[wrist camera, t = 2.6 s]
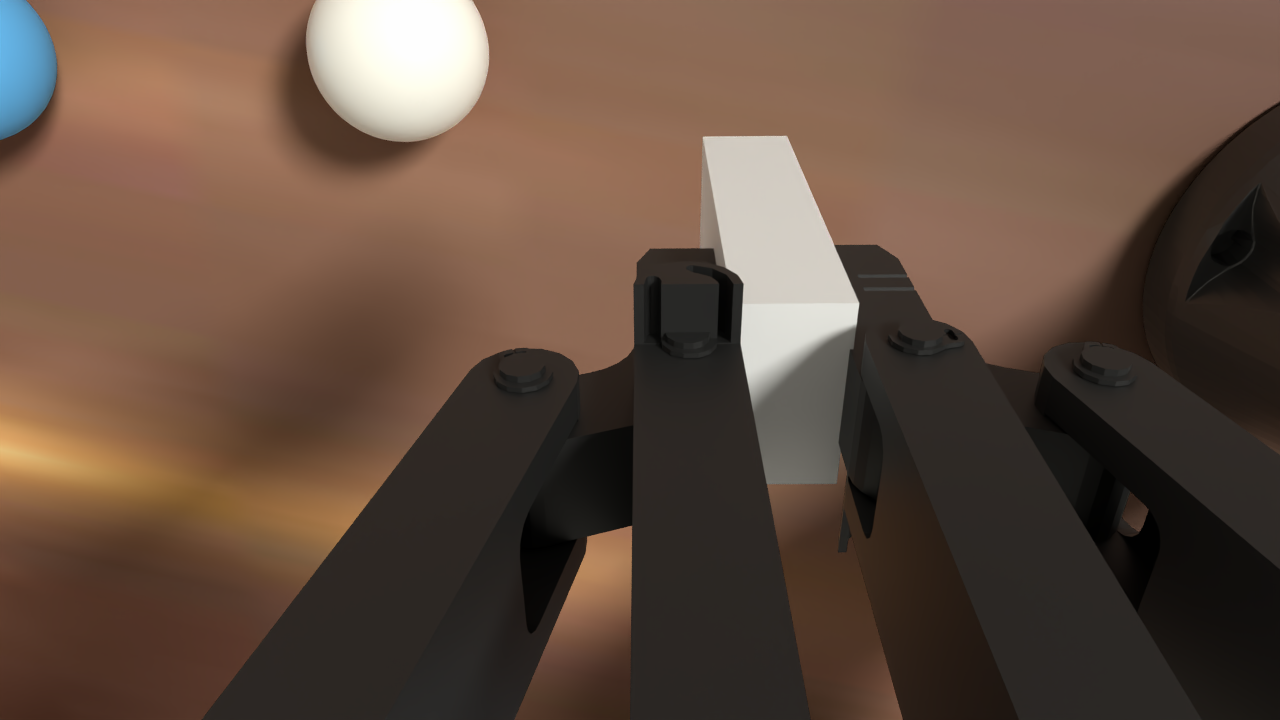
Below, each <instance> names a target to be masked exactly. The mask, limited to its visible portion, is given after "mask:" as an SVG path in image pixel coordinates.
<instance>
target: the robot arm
mask: <svg viewBox="0 0 1280 720" xmlns="http://www.w3.org/2000/svg"><path fill="white" fill-rule="evenodd" d="M1143 321H1144V329H1145V334H1146V339H1147V342H1148V345H1149V349H1150V351H1151V353H1152V356H1153V358H1154V360H1155V362H1156V364H1157V366H1158V367H1157V366H1156V365H1154V364H1153V363H1152V362H1150V361H1148V360H1146V359H1144V358H1142V357H1141V356H1139V355H1137V354H1135V353H1133V352H1130V351H1127V350H1124V349H1120V348H1118V347H1117V346H1115V345H1112V344H1107V343H1102V344H1100V342H1090V341H1089V342H1081V343H1066V344H1063V345H1059V346H1056V347H1053V348H1051V349H1050V350H1049V351H1048V352H1047V353H1046V354H1045V355H1044V358H1043V362H1042V366H1041V370H1040V373H1035V372H1029V371H1023V370H1016V369H1010V368H1004V367H1000V366H995V365H991V364H986V363H985V361H984V360H983V358H982V356H981V355H980V353H979V351H978V350H977V348H976V347H975V345H974V343H973V342H972V341H971V340H970V339H969V338H968V337H967V336H966V335H965V334H964V333H963V332H962V331H960V330H958V329H956V328H954V327H952V326H950V325H948V324H946V323H942V322H938V321H934V320H932V318H931V316H930V315H929V313H928V311H927V309H926V307H925V306H924V304H923V302H922V300H921V299H920V297H919V295H918V293H917V291H916V290H914V286H913V284H912V283H911V281H910V279H909V277H907V274H906V272H905V270H904V268H903V266H902V265H901V263H900V261H899V259H898V258H896V257H895V256H893V255H892V254H890V253H889V252H887V251H886V250H884V249H883V248H881V247H880V246H878V245H834V244H833V241H832V239H831V237H830V235H829V232H828V230H827V228H826V225H825V223H824V221H823V218H822V216H821V214H820V211H819V209H818V207H817V205H816V202H815V200H814V198H813V195H812V193H811V191H810V188H809V186H808V184H807V181H806V179H805V177H804V174H803V172H802V170H801V168H800V165H799V163H798V161H797V158H796V156H795V154H794V151H793V149H792V147H791V144H790V142H789V140H788V138H787V136H722V137H703V148H702V186H701V224H700V248H691V249H650V250H649V251H648V252H647V253H646V254H645V255H644V256H643V257H642V258H641V259H640V260H639V261H638V262H637V278H636V280H635V283H634V349H633V350H632V351H631V353H630V354H629V355H628V356H627V357H626V358H625V359H623V360H622V361H620V362H619V363H617V364H615V365H613V366H610V367H608V368H606V369H603V370H599V371H595V372H591V373H586V374H581V375H579V371H578V369H577V368H576V366H575V364H574V363H573V361H572V360H570V359H568V358H567V357H565V356H563V355H562V354H560V353H556V352H552V351H548V350H544V349H529V348H517V349H515V350H512V349H511V350H506V351H503V352H500V353H497V354H495V355H493V356H490V357H488V358H485V359H483V360H482V361H481V362H479V363H478V364H477V365H476V366H475V367H473V368H472V369H471V370H470V371H469V373H468V374H467V375H466V377H465V378H464V379H463V380H462V382H461V383H460V384H459V386H458V387H457V388H456V390H455V391H454V392H453V393H452V395H451V396H450V397H449V399H448V400H447V401H446V403H445V404H444V405H443V406H442V408H441V409H440V410H439V412H438V413H437V414H436V416H435V417H434V418H433V419H432V421H431V422H430V423H429V425H428V426H427V427H426V429H425V430H424V431H423V433H422V434H421V435H420V436H419V438H418V439H417V440H416V442H415V443H414V444H413V446H412V447H411V448H410V449H409V451H408V452H407V453H406V455H405V456H404V457H403V459H402V460H401V461H400V462H399V464H398V465H397V466H396V468H395V469H394V470H393V472H392V473H391V474H390V475H389V477H388V478H387V479H386V481H385V482H384V483H383V485H382V486H381V487H380V488H379V490H378V491H377V492H376V494H375V495H374V496H373V498H372V499H371V500H370V501H369V503H368V504H367V505H366V507H365V508H364V509H363V511H362V512H361V513H360V514H359V516H358V517H357V518H356V520H355V521H354V522H353V524H352V525H351V526H350V528H349V529H348V530H347V531H346V533H345V534H344V535H343V537H342V538H341V539H340V541H339V542H338V543H337V544H336V546H335V547H334V548H333V550H332V551H331V552H330V554H329V555H328V556H327V557H326V559H325V560H324V561H323V563H322V564H321V565H320V567H319V568H318V569H317V570H316V572H315V573H314V574H313V576H312V577H311V578H310V580H309V581H308V582H307V583H306V585H305V586H304V587H303V589H302V590H301V591H300V593H299V594H298V595H297V596H296V598H295V599H294V600H293V602H292V603H291V604H290V606H289V607H288V608H287V609H286V611H285V612H284V613H283V615H282V616H281V617H280V619H279V620H278V621H277V622H276V624H275V625H274V626H273V628H272V629H271V630H270V632H269V633H268V634H267V636H266V637H265V638H264V639H263V641H262V642H261V643H260V645H259V646H258V647H257V649H256V650H255V651H254V652H253V654H252V655H251V656H250V658H249V659H248V660H247V662H246V663H245V664H244V665H243V667H242V668H241V669H240V671H239V672H238V673H237V675H236V676H235V677H234V678H233V680H232V681H231V682H230V684H229V685H228V686H227V688H226V689H225V690H224V691H223V693H222V694H221V695H220V697H219V698H218V699H217V701H216V702H215V703H214V704H213V706H212V707H211V708H210V710H209V711H208V712H207V714H206V715H205V716H204V717H203V719H202V720H514V719H515V717H516V714H517V712H518V710H519V707H520V705H521V703H522V700H523V698H524V696H525V693H526V691H527V689H528V686H529V684H530V682H531V679H532V677H533V675H534V672H535V670H536V668H537V665H538V663H539V661H540V658H541V656H542V654H543V651H544V649H545V647H546V644H547V642H548V640H549V637H550V635H551V632H552V630H553V628H554V625H555V623H556V621H557V618H558V616H559V614H560V611H561V609H562V607H563V604H564V602H565V600H566V597H567V595H568V593H569V590H570V588H571V586H572V583H573V581H574V579H575V576H576V574H577V572H578V569H579V567H580V565H581V562H582V560H583V558H584V555H585V552H586V545H587V536H591V535H595V534H599V533H603V532H607V531H611V530H616V529H620V528H624V527H628V526H632V602H631V692H630V720H811V719H810V713H809V708H808V703H807V697H806V692H805V687H804V681H803V676H802V670H801V665H800V660H799V654H798V649H797V644H796V638H795V633H794V628H793V622H792V617H791V611H790V606H789V601H788V595H787V590H786V585H785V579H784V574H783V569H782V563H781V558H780V553H779V547H778V542H777V536H776V531H775V526H774V520H773V515H772V510H771V504H770V499H769V494H768V488H767V484H837V476H838V468H839V460H840V453H842V456H843V460H844V463H845V466H846V470H847V478H846V486H845V493H844V501H843V509H842V516H841V524H840V531H839V539H838V552H846V551H847V544H848V539H849V538H850V537H851V536H852V539H853V542H854V546H855V549H856V553H857V556H858V560H859V564H860V567H861V571H862V574H863V578H864V582H865V585H866V589H867V592H868V596H869V599H870V603H871V607H872V610H873V614H874V617H875V621H876V625H877V628H878V632H879V635H880V639H881V642H882V646H883V650H884V653H885V657H886V660H887V664H888V668H889V671H890V675H891V678H892V682H893V685H894V689H895V693H896V696H897V700H898V703H899V707H900V710H901V714H902V718H903V720H1280V105H1279V106H1278V107H1276V108H1275V109H1273V110H1272V111H1270V112H1269V113H1267V114H1266V115H1264V116H1263V117H1261V118H1260V119H1259V120H1257V121H1256V122H1254V123H1253V124H1252V125H1250V126H1249V127H1248V128H1247V129H1245V130H1244V131H1243V132H1242V133H1241V134H1239V135H1238V136H1237V137H1236V138H1235V139H1233V140H1232V141H1231V142H1230V143H1229V144H1228V145H1227V146H1226V147H1225V148H1224V149H1223V150H1221V151H1220V152H1219V153H1218V154H1217V155H1216V156H1215V157H1214V159H1213V160H1212V161H1211V162H1210V163H1209V164H1208V165H1207V166H1206V167H1205V168H1204V169H1203V170H1202V172H1201V173H1200V174H1199V175H1198V176H1197V177H1196V179H1195V180H1194V181H1193V182H1192V184H1191V185H1190V186H1189V188H1188V189H1187V190H1186V192H1185V193H1184V194H1183V196H1182V197H1181V199H1180V200H1179V202H1178V203H1177V205H1176V206H1175V208H1174V210H1173V211H1172V213H1171V215H1170V217H1169V218H1168V220H1167V222H1166V224H1165V226H1164V228H1163V230H1162V232H1161V234H1160V236H1159V238H1158V241H1157V243H1156V246H1155V248H1154V251H1153V254H1152V257H1151V260H1150V263H1149V267H1148V271H1147V274H1146V280H1145V285H1144V294H1143ZM1130 492H1132V493H1133V494H1134V495H1135V496H1136V497H1137V498H1138V499H1139V500H1140V501H1141V502H1143V503H1144V504H1145V506H1146V507H1147V508H1148V509H1149V511H1148V514H1147V517H1146V519H1145V522H1144V525H1143V527H1142V529H1141V531H1140V532H1138V531H1136V530H1135V529H1133V528H1132V527H1131V526H1130V525H1129V524H1128V523H1127V522H1125V521H1124V520H1123V519H1122V515H1123V512H1124V509H1125V506H1126V503H1127V500H1128V497H1129V494H1130Z"/></svg>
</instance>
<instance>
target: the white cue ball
mask: <svg viewBox="0 0 1280 720" xmlns="http://www.w3.org/2000/svg"><path fill="white" fill-rule="evenodd" d="M306 49H307V57H308V63H309V67H310V71H311V73H312V76H313V79H314V81H315V83H316V85H317V87H318V89H319V91H320V93H321V94H322V96H323V97H324V99H325V100H326V102H327V103H328V104H329V105H330V106H331V108H332V109H333V110H334V111H335V112H336V113H337V114H338V115H339V116H340V117H341V118H342V119H344V120H345V121H346V122H348V123H349V124H350V125H352V126H353V127H355V128H357V129H358V130H360V131H362V132H364V133H366V134H368V135H371V136H373V137H377V138H380V139H384V140H389V141H397V142H414V141H421V140H426V139H429V138H432V137H435V136H438V135H440V134H442V133H444V132H446V131H448V130H450V129H451V128H453V127H454V126H455V125H457V124H458V123H459V122H460V121H461V120H462V119H463V118H464V117H465V116H466V115H467V114H468V113H469V112H470V111H471V109H472V108H473V107H474V105H475V104H476V102H477V100H478V99H479V97H480V95H481V92H482V90H483V87H484V85H485V81H486V77H487V73H488V67H489V45H488V39H487V34H486V30H485V27H484V23H483V21H482V18H481V16H480V14H479V11H478V10H477V8H476V6H475V4H474V3H473V1H472V0H316V1H315V3H314V5H313V8H312V10H311V13H310V16H309V20H308V24H307V31H306Z"/></svg>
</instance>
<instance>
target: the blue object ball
mask: <svg viewBox="0 0 1280 720" xmlns="http://www.w3.org/2000/svg"><path fill="white" fill-rule="evenodd" d="M56 78H57V59H56V53H55V49H54V45H53V42H52V39H51V37H50V34H49V32H48V30H47V28H46V26H45V25H44V23H43V21H42V20H41V18H40V17H39V15H38V14H37V13H36V11H35V10H34V9H33V8H32V6H31V5H30V4H29V3H28V2H27V1H26V0H0V140H2V139H4V138H7V137H10V136H12V135H15V134H17V133H18V132H20V131H22V130H23V129H25V128H26V127H28V126H29V125H30V124H32V123H33V122H34V121H35V120H36V119H37V118H38V117H39V116H40V115H41V113H42V112H43V111H44V110H45V108H46V107H47V105H48V103H49V101H50V99H51V97H52V95H53V92H54V89H55V85H56Z"/></svg>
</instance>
